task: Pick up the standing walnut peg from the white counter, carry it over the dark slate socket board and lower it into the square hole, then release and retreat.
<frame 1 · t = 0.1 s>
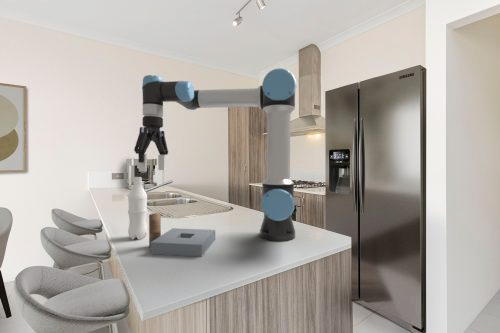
hand: (152, 170, 100), 28 cm above the countertop, fingers open, 13 cm apart
water bottle: (138, 238, 104), on the countertop
socket board: (185, 246, 94), on the countertop
peg: (155, 246, 93), on the countertop
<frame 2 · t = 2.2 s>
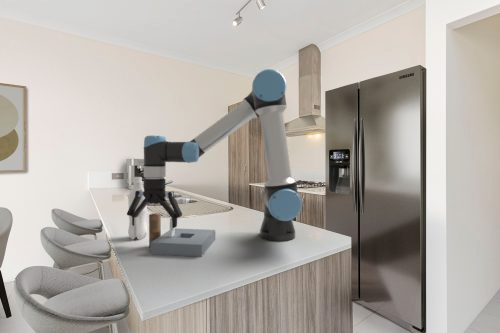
hand: (154, 235, 93), 4 cm above the countertop, fingers open, 13 cm apart
peg: (155, 246, 93), on the countertop, touching socket board
everything else where it was.
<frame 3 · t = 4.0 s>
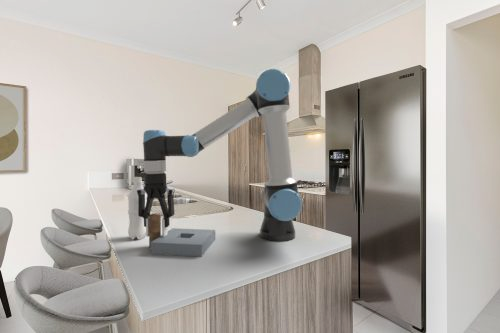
hand: (157, 235, 93), 4 cm above the countertop, fingers open, 5 cm apart
peg: (155, 246, 93), on the countertop, touching gripper, socket board
everything else where it was.
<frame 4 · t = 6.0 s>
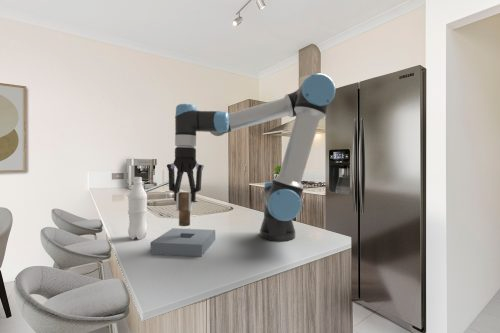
hand: (184, 210, 94), 14 cm above the countertop, fingers closed on peg, 4 cm apart
peg: (184, 224, 94), point 8 cm above the countertop, touching gripper
everything else where it was.
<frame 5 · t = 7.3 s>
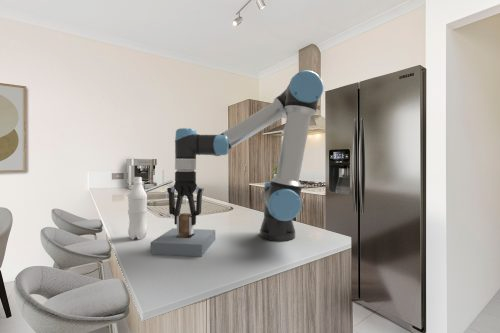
hand: (185, 233, 94), 5 cm above the countertop, fingers closed on peg, 4 cm apart
peg: (185, 246, 94), resting in socket board, touching gripper
everything else where it was.
when the fingers open (5 cm above the countertop, at t = 7.8 s): peg stays where it is, resting in socket board.
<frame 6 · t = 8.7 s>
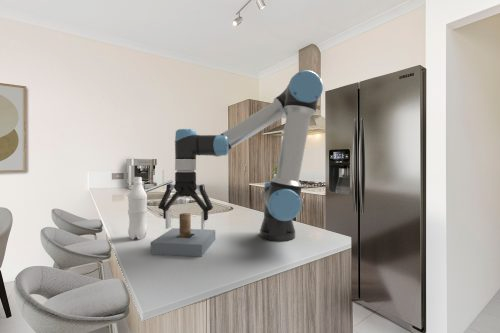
hand: (185, 228, 94), 7 cm above the countertop, fingers open, 13 cm apart
peg: (185, 246, 94), resting in socket board
everything else where it was.
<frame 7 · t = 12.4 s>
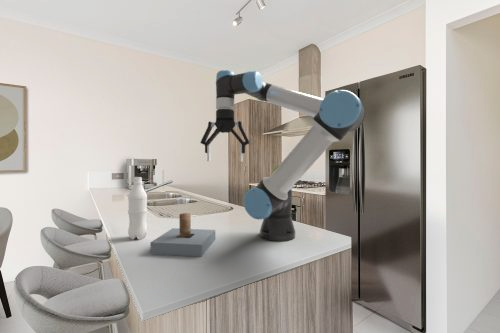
hand: (224, 161, 105), 32 cm above the countertop, fingers open, 13 cm apart
nothing on the countertop moved.
at the end: peg 0.2 cm off-centre on the socket board, point 0.0 cm above the socket board's base; peg tilted 0°; the gripper is holding nothing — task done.
